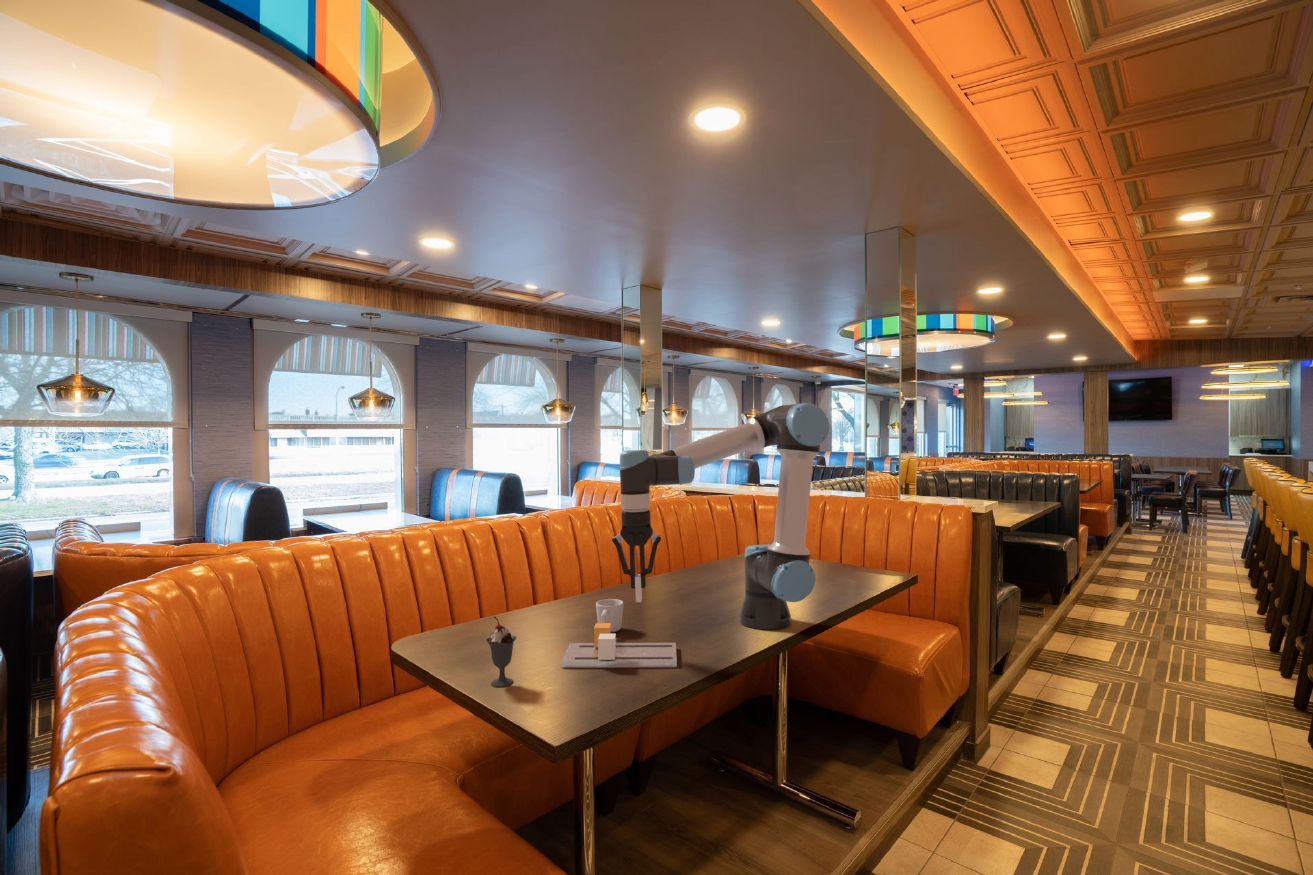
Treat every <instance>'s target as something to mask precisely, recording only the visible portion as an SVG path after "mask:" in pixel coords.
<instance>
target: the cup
mask: <svg viewBox="0 0 1313 875" xmlns="http://www.w3.org/2000/svg"><path fill="white" fill-rule="evenodd" d="M595 610H596V618H597V623H611V633H615V632H618V631H619V630H621V629H622V624H623V615H624V601H623V600H621V599H617V598H606V599H605V598H604V599H599V600H598V601H596V603H595Z"/></svg>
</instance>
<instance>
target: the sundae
mask: <svg viewBox="0 0 1313 875" xmlns="http://www.w3.org/2000/svg"><path fill="white" fill-rule="evenodd" d="M493 619H495V620H496V621H497V625H495V627H494V629H495V630H494V631H492V634H491V636H490V637H487V638H486V639H485V640H486V643H487V644H488V645H489V647H490V652H491V661H492V664H493V665H494V666H495V667H496V668H498V670H499V676H498V678H497V679H494V680H492V681H491V683H490V685H491V686H492V687H494V688H506V687H508V686H511V685H512V684H514V680H513V679H512V678H510V677H506V673H505V669H506V668H507V666H509V664H510V663H511V661H512V657H513V650H514V649H513V648H514V642H515V641H516V640H517V636H515V635H512V633H511V632H509V628H507V627H506V626H503V625H502V624H500V623H499V619H498V618H497V616H495V615H494V616H493Z"/></svg>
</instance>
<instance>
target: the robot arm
mask: <svg viewBox="0 0 1313 875" xmlns="http://www.w3.org/2000/svg"><path fill="white" fill-rule="evenodd" d="M829 433H830V422H829V419H828V415H827V414H826V413H825V412H824V410H823V409H822V408H821V407H819V406H818V405H816V404H814V403H808V402H807V403H806V402H798V403H794V404H793V403H792V404H782V405H778V406H776V407H773V408H771V409H770V410H767V411H765V412H763V413H761V414H758V415H755V416H752V417H750V418H748V420H747V421H746V423H743V424H740V425H737V426H735V427H731V428H729V429H726V430H723V431H721V432H720V431H719V432H718V433H714V434H711V435H709V436H706V437H703V438H700V439H698V440H694V441H692V442H689V443H687V444H684V445H683V444H682V445H680V446H677V447H674V448H671V449H670V450H666V451H663V452H661V453H654V454H650V455H649V451H648V450H647V449H635V450H634V449H633V450H631V449H629V450H623V451H621V453H620V454H619V478H620V480H619V482H620V484H619V485H620V508H621V509H622V511H621V513H620V514H621V529H620V531H619V533H618V534H617V535H616V536H613V537H612V539H611V542H612V544H614V546H615V548H616V550H617V551H616V552H617V553H618V554H617V555H618V558H619V562H620V566H621V568H622V572H623V574H624V575H628V576H629V577H630V588H631V589H633V590H635V603H642V602H643V590H642V589H646V586H647V581H646V580H647V579H646V576H647V575H650V574H652V572H653V568H654V564H655V559H656V554H657V549H658V546H659V544H660V542H661V541H662V536H661V535H660V534H657V533H655V532H654V530H653V528H652V524H651V523H652V520H651V519H652V518H651V511H650V508H651V496H650V495H651V494H650V487H655V486H671V485H672V486H673V485H675V486H676V485H680V486H682V485H688V484H691V483H692V482H693V481H694V478H695V474H696V472H695V470H696V469H699V468H701V467H704V466H707V465H709V464H712V463H715V462H717V461H720V460H723V459H726V458H729V457H732V456H734V455H737V454H741V453H742V452H747V451H750V450H751V449H754V448H757V449H760V450H761V449H764V448H766V447H771V446H776V451H777V453H779V455H780V456H781V458H780V460H781V461H780V469H779V470H780V471H779V481H778V490H777V505H776V513H775V515H776V516H775V524H774V525H775V526H774V534H773V542H772V543H770V544H769V543H767V544H754V545H748V546H746V547H745V550H744V557H743V560H744V585H745V586H744V588H745V590H744V591H745V592H744V598H743V601H742V604H741V608H740V610H739V623H740V624H741V625H743V626H745V627H747V628H752V629H758V630H779V629H785V628H787V627H790V626H791V624H792V617H791V612H790V609H789V606H788V603H798V602H801V601H803V600H805V599H806V598H807V597H808V596H810V595H811V593H812V592H813V589H814V588H815V584H816V580H817V579H816V573H815V570H814V569H813V567H812V566H811V565H810V558H811V552H810V550H809V549H808V548H807V546H806V542H807V541H806V540H807V531H808V517H809V516H808V515H809V507H810V497H811V496H810V495H811V485H812V475H813V474H812V473H813V465H814V464H813V463H814V459H815V458H816V457H818V456H819V455H820V452H821V451H820V450H821V449H820V448H821V444H822V443H823V442H824V441H825V440H826V439H827V438H828V435H829ZM650 539H651V541H652V546H651V551H650V556H649V559H648V560H649V561H648V565H647V567H646V554H645V553H646V552H645V550H646V549H645V545H647V543H648V541H649V540H650ZM623 540H624V542H625V543H626V544H627V545H628V546H629V566H628V563H627V560H626V556H625V551H624V549H623V545H622V542H623ZM637 546H638V548H639V568H640V569H639V570H640V571H639V574H636V572H637V571H636V547H637ZM787 602H788V603H787Z"/></svg>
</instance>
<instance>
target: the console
mask: <svg viewBox="0 0 1313 875" xmlns="http://www.w3.org/2000/svg"><path fill="white" fill-rule="evenodd" d="M677 663H678V660H677V643H676V642H616V656H615V660H598V647H594V642H569V643H568V646H567V648H566V650H565V652H564V655H563V657H562V659H561V661H560V664H561V665H560V668H561V669H562V668H563V669H564V668H565V669H566V668H567V669H569V668H571V669H572V668H578V669H579V668H581V669H582V668H584V669H585V668H586V669H589V668H591V669H592V668H597V669H598V668H601V669H602V668H604V669H605V668H608V669H609V668H678V664H677Z"/></svg>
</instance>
